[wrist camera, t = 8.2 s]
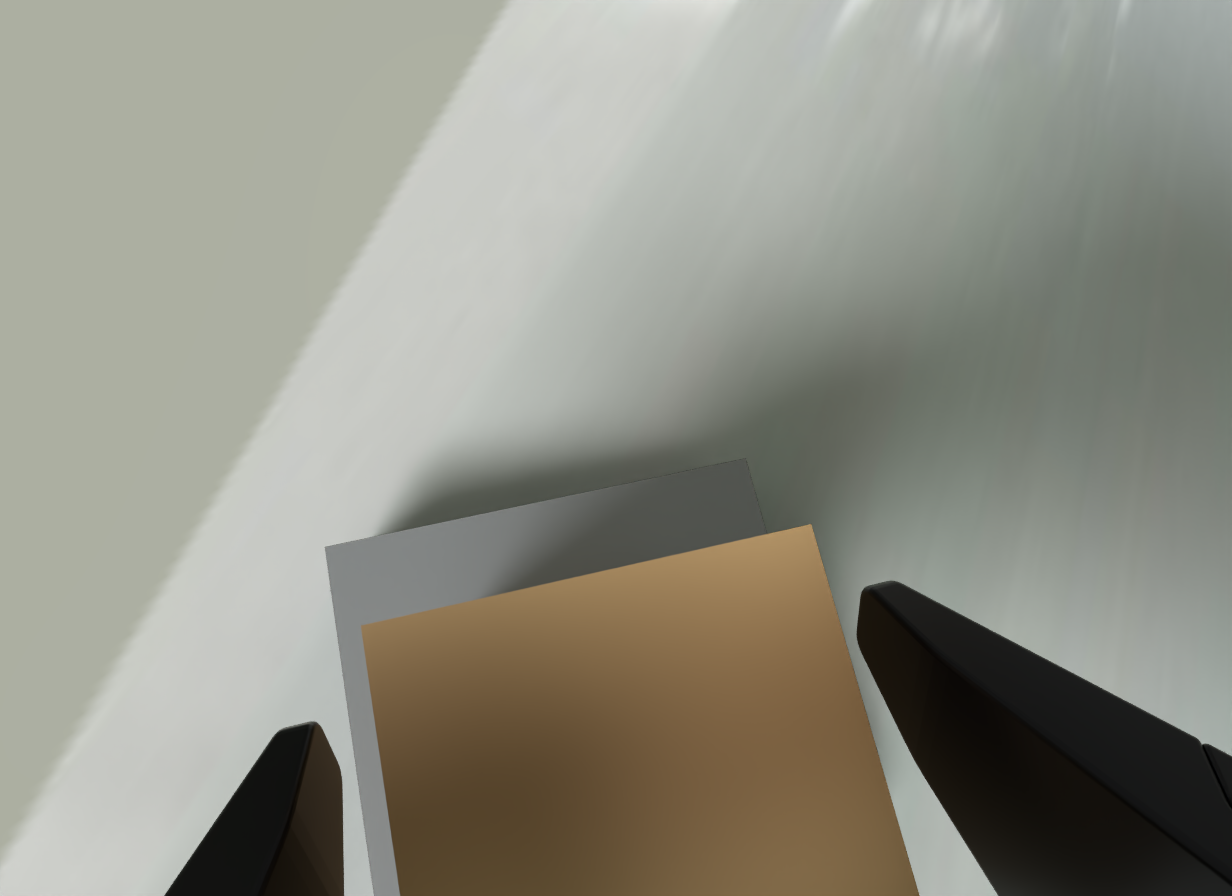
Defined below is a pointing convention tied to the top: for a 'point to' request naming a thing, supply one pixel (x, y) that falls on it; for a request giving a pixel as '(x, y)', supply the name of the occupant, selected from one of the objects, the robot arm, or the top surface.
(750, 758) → the caramel block
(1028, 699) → the robot arm
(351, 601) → the gray plinth
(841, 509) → the top surface
